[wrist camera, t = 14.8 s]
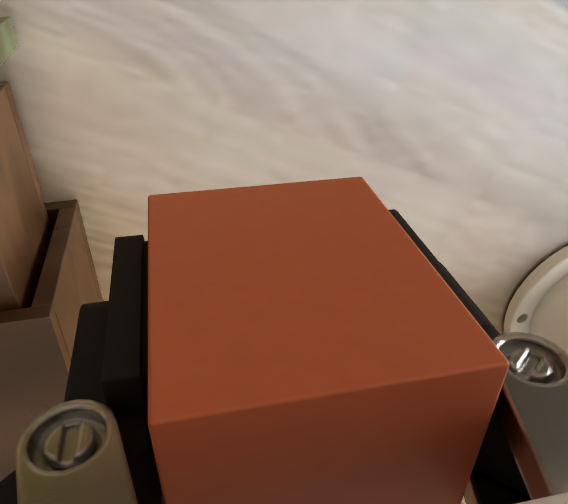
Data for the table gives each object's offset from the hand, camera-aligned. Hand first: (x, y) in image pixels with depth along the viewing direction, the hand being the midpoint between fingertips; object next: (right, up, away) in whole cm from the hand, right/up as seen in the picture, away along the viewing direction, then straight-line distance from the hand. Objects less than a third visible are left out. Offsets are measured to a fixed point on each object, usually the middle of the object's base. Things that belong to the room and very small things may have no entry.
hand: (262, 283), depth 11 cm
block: (0, 0, 0) cm, 0 cm away
